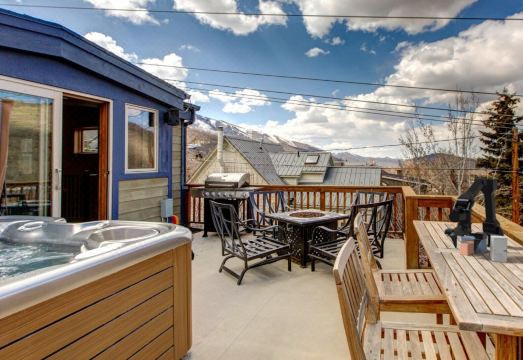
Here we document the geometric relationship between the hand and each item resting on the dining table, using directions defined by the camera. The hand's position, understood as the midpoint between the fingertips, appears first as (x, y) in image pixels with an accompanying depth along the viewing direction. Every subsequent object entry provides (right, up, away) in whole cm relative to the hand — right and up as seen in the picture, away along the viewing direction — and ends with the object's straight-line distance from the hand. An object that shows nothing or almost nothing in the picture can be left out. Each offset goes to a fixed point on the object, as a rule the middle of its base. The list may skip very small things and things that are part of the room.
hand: (465, 249), depth 172 cm
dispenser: (+9, -2, +6) cm, 11 cm away
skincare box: (+9, -3, -12) cm, 15 cm away
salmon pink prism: (+4, -2, +3) cm, 6 cm away
